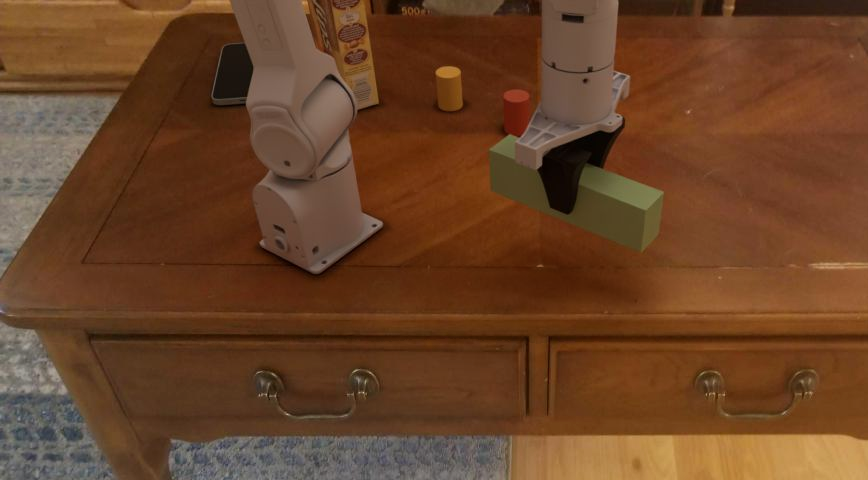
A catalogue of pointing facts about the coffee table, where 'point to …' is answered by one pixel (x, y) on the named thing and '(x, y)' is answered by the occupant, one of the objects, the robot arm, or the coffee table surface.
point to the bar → (584, 198)
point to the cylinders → (512, 99)
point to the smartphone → (233, 75)
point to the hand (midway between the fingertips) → (572, 199)
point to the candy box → (346, 44)
